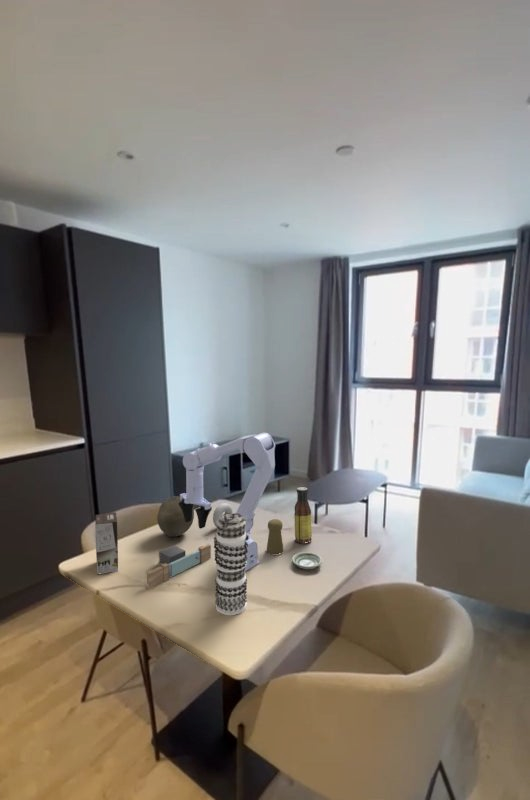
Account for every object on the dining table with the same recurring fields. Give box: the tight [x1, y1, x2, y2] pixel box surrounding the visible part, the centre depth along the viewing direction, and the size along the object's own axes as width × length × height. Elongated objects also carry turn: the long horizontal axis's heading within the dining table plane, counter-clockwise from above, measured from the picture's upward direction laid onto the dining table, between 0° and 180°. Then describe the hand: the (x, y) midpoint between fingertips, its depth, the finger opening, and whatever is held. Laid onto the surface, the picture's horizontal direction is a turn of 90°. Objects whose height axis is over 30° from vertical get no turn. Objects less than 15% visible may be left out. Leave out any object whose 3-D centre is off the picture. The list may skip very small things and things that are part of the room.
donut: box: [212, 502, 234, 528], centre depth 154 cm, size 10×4×10 cm, turn 141°
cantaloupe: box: [156, 496, 195, 537], centre depth 146 cm, size 14×14×15 cm
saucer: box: [291, 551, 323, 570], centre depth 126 cm, size 10×10×2 cm
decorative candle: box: [213, 512, 249, 616], centre depth 103 cm, size 9×9×25 cm
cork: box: [266, 518, 284, 555], centre depth 135 cm, size 6×6×11 cm
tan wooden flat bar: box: [146, 543, 212, 590], centre depth 121 cm, size 2×24×5 cm, turn 141°
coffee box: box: [94, 511, 119, 575], centre depth 124 cm, size 9×6×16 cm
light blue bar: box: [168, 550, 201, 579], centre depth 122 cm, size 2×12×4 cm, turn 141°
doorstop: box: [158, 545, 186, 565], centre depth 127 cm, size 6×6×4 cm
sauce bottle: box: [293, 486, 313, 544], centre depth 143 cm, size 7×6×20 cm
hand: (195, 524), depth 133 cm, fingers open, 7 cm apart
